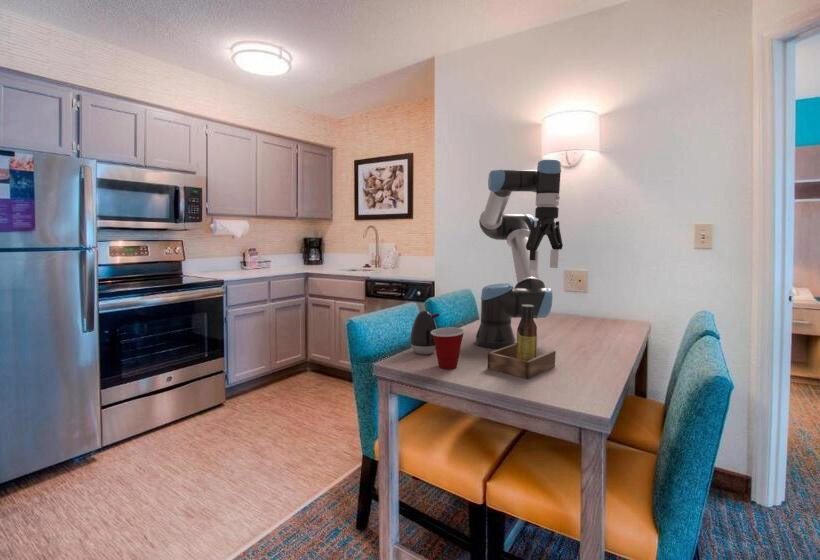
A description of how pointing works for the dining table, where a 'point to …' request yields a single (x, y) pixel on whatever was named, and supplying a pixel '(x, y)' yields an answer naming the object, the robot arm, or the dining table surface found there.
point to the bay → (519, 362)
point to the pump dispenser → (423, 333)
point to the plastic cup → (447, 346)
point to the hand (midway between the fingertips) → (543, 269)
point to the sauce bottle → (527, 334)
